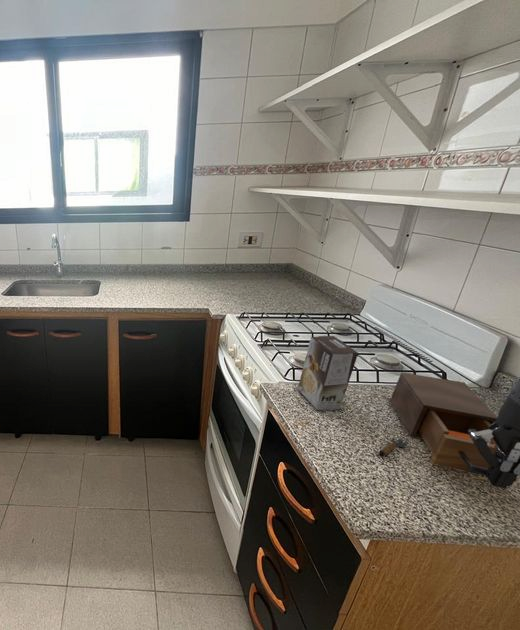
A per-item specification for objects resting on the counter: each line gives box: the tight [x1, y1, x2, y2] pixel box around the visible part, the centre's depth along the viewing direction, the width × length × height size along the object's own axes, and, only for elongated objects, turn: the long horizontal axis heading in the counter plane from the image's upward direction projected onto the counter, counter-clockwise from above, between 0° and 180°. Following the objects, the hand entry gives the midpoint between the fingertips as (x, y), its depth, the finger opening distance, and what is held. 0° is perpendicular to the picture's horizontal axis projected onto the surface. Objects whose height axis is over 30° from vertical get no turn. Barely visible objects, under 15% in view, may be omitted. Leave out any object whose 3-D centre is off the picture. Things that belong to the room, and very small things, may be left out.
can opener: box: [378, 437, 408, 457], centre depth 73 cm, size 9×2×1 cm, turn 112°
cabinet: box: [389, 372, 498, 440], centre depth 79 cm, size 14×12×9 cm
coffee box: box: [297, 335, 359, 411], centre depth 86 cm, size 9×6×16 cm
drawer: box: [418, 409, 518, 483], centre depth 69 cm, size 17×11×7 cm, turn 158°
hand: (495, 483), depth 60 cm, fingers closed
